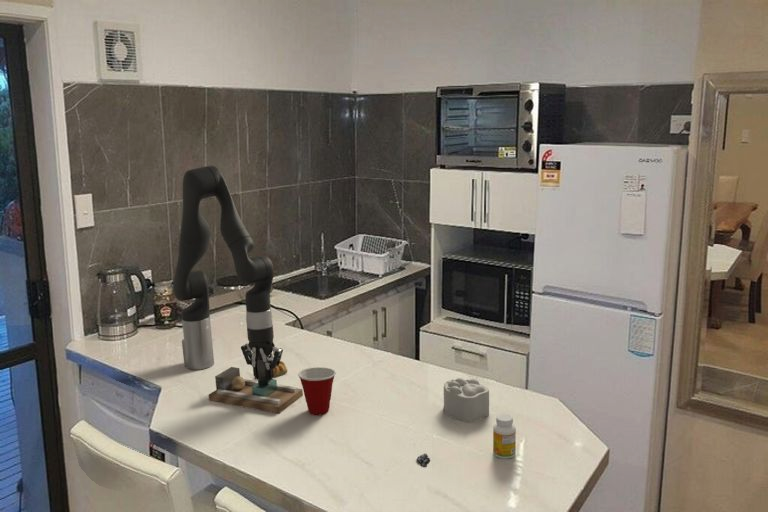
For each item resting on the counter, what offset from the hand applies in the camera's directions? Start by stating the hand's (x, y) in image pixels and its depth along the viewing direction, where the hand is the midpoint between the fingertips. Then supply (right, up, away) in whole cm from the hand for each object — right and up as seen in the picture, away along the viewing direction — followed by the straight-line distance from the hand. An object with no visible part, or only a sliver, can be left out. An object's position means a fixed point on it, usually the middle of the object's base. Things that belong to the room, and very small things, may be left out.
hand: (264, 378), depth 190 cm
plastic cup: (+17, -8, -7) cm, 20 cm away
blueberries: (+46, -14, -36) cm, 60 cm away
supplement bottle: (+65, -12, -34) cm, 75 cm away
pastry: (-1, -3, +21) cm, 21 cm away
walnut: (-9, -2, +4) cm, 10 cm away
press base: (-3, -6, +3) cm, 8 cm away
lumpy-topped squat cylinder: (+59, -7, -10) cm, 60 cm away
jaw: (0, -4, +1) cm, 4 cm away
